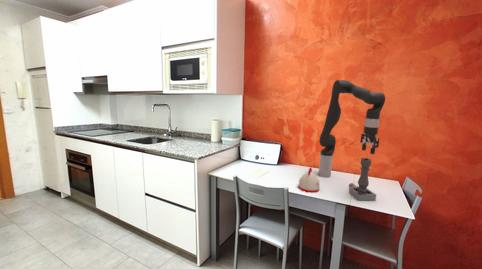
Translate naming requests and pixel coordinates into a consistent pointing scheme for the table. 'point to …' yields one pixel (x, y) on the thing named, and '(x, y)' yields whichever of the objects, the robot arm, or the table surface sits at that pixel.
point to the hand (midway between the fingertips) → (367, 152)
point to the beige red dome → (309, 182)
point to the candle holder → (364, 176)
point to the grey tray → (361, 197)
